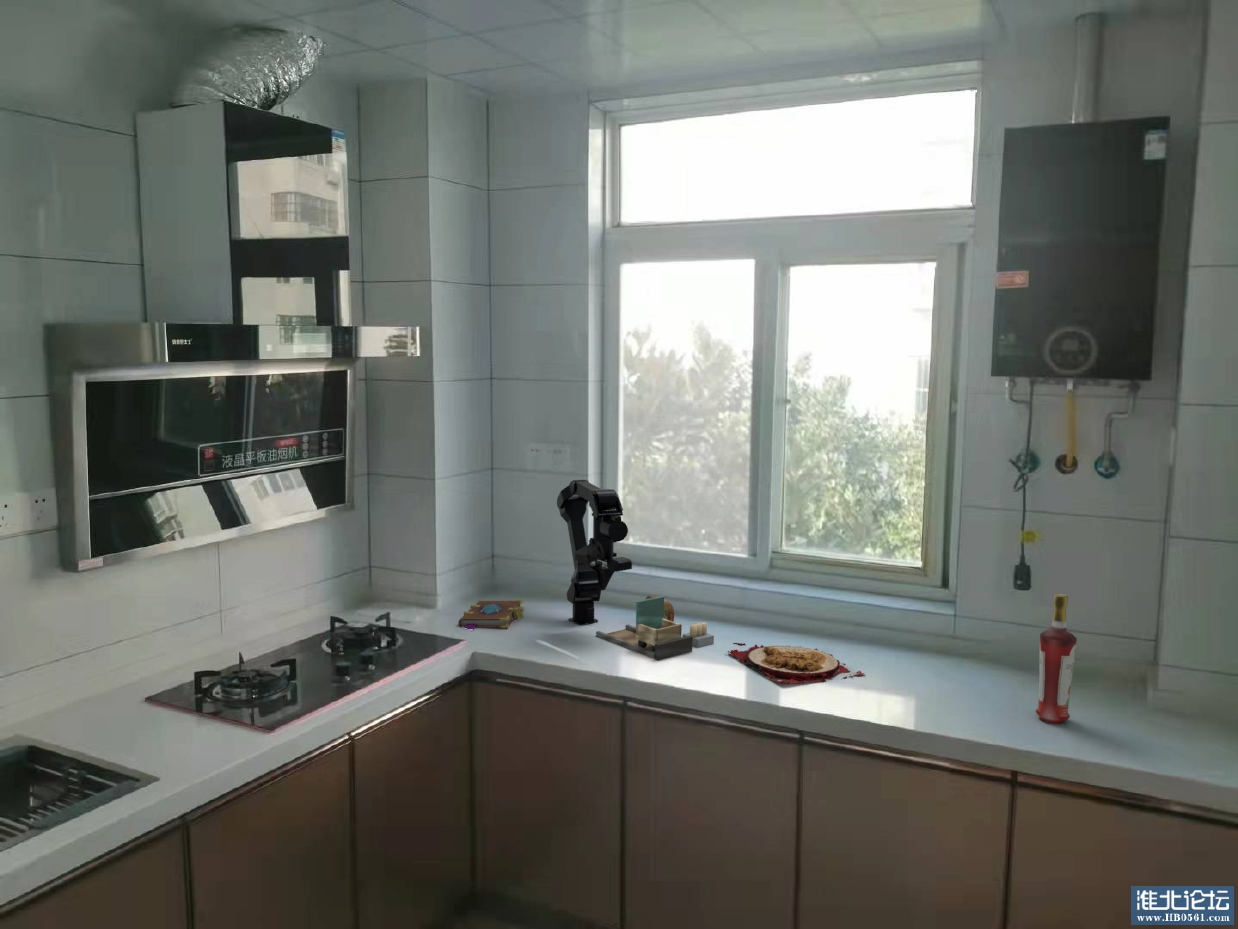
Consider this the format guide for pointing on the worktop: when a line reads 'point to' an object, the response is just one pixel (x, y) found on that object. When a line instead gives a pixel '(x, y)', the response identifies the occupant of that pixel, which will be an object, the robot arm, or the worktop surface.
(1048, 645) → the liquor
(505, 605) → the book
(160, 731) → the worktop surface
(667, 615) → the tin
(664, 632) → the cart
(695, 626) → the grey block with cylinders
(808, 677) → the plate with food
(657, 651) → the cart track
